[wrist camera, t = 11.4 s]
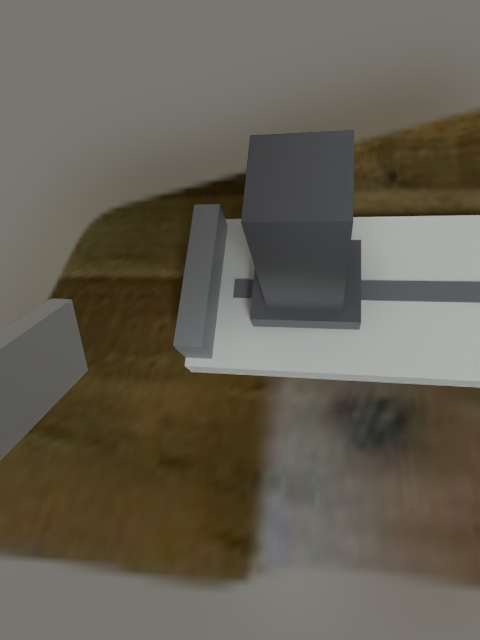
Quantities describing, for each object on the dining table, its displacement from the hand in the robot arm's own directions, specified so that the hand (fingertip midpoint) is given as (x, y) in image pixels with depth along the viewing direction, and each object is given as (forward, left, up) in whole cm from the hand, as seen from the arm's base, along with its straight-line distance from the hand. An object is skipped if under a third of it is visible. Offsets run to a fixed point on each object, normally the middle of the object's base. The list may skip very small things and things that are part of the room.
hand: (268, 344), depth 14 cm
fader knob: (-1, -7, -11) cm, 13 cm away
